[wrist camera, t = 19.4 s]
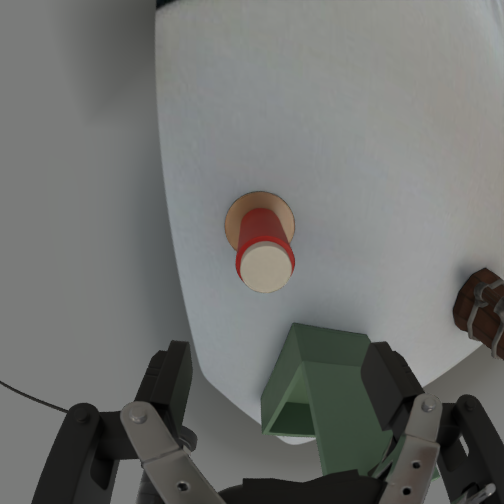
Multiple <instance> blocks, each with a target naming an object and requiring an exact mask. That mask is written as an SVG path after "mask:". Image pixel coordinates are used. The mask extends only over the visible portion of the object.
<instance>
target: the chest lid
mask: <svg viewBox="0 0 504 504" xmlns="http://www.w3.org/2000/svg"><path fill="white" fill-rule="evenodd" d="M301 366H302V371H303V376H304V381H305V386H306V390H307V395H308V400H309V405H310V410H311V415H312V420H313V425H314V430H315V435H316V441H317V445H318V451H319V456H320V462H321V467H322V472H323V476H325V475H328V474H331V473H336V472H342V471H348V470H353V469H358V473H359V475H364V476H370V477H371V476H372V474H373V473H374V472H375V470H376V468H377V467H378V465H379V462H380V460H381V458H382V456H383V454H384V451H385V449H386V447H387V444H388V442H389V439H390V437H391V435H392V434H393V432H392V430H388V431H383V432H382V429H381V427H380V424H379V422H378V419H377V417H376V414H375V411H374V409H373V407H372V404H371V402H370V399H369V397H368V394H367V392H366V389H365V387H364V385H363V382H362V380H361V374H360V371H361V367H358V366H347V365H337V364H328V363H319V362H311V361H303V363H302V365H301ZM439 477H440V475H439V472H438V470H437V468H436V466H435V469H434V473H433V476H432V479H431V482H432V481H435V480H436V479H438V478H439Z"/></svg>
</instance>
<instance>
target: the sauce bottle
mask: <svg viewBox="0 0 504 504" xmlns="http://www.w3.org/2000/svg"><path fill="white" fill-rule="evenodd" d="M294 266H295V258H294V254H293V251H292V249H291V247H290V244H289V242H288V239H287V237H286V234H285V232H284V230H283V227H282V225H281V222H280V220H279V218H278V216H277V215H276V214H275V213H274V212H272V211H271V210H269V209H266V208H256V209H253V210H251V211H249V212H248V213H247V214H246V215H245V216H244V217H243V219H242V221H241V226H240V233H239V240H238V247H237V255H236V270H237V273H238V275H239V277H240V278H241V280H242V281H243V282H244V283H245V284H246V285H247V286H248V287H249V288H251V289H252V290H254V291H257V292H260V293H271V292H274V291H277V290H279V289H281V288H282V287H283V286H284V285H285V284H286V283H287V282H288V280H289V279H290V277H291V275H292V273H293V271H294Z"/></svg>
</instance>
